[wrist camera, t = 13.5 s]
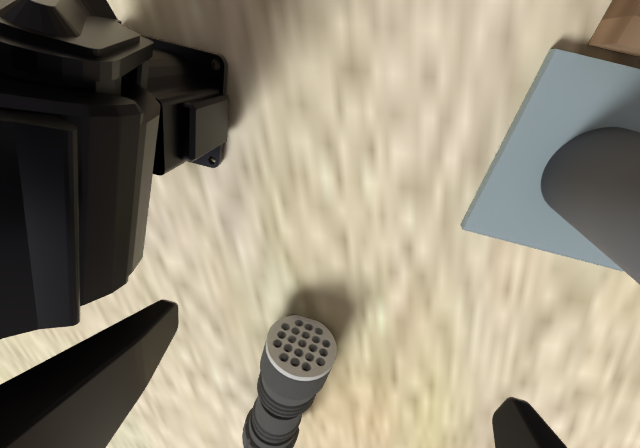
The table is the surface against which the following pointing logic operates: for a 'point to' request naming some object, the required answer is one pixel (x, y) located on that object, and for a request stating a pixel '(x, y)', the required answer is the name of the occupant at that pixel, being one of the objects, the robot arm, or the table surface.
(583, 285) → the table surface
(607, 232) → the grey jar with lid
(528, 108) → the mat
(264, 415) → the flashlight
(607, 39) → the brown square frame
